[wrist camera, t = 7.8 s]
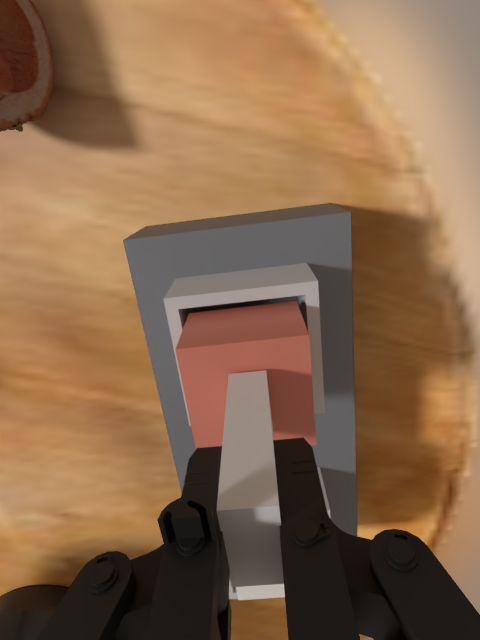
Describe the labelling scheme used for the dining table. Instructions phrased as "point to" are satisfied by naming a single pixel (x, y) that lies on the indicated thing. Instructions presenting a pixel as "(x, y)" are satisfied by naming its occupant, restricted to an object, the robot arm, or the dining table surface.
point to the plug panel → (251, 290)
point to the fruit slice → (23, 64)
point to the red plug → (247, 367)
